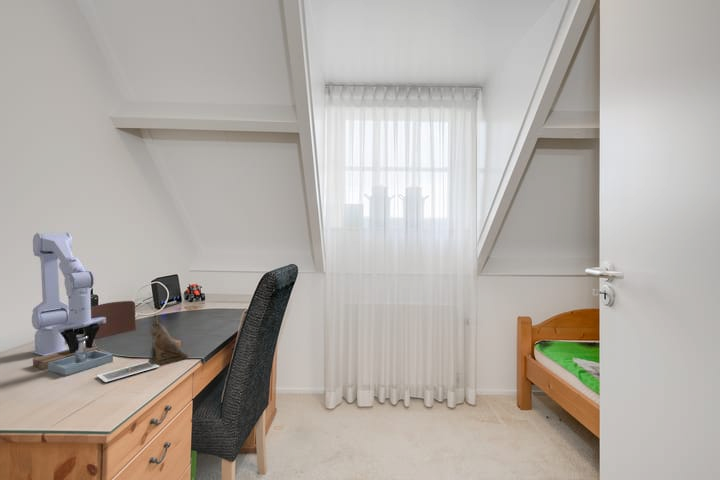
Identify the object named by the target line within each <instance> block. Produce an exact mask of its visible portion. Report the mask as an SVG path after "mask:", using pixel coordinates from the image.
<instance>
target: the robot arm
mask: <svg viewBox="0 0 720 480" xmlns="http://www.w3.org/2000/svg"><path fill="white" fill-rule="evenodd" d="M73 243H74V242H73V236H72V235H71V234H70V233H69V232H64V233H63V232H62V233H61V232H54V233H52V232H51V233H50V232H49V233H48V232H47V233H46V232H45V233H40V232H36V233H35V234H34V235H33V238H32V251H33V256H35V257H38V258H39V261H40V273H41V276H40V277H41V292H42V293H41V294H42V301H41V302H40V303H39V304H37V305H36V306H34V308H33V309H32V315H31V325H32V327H33V329H35V330H36V331H35V333H34V350H32V351H31V353H33V354H35V355H38V356H41V357H42V356H45V355H49V354H53V353H57V352H61V351H65V350H70V352H72V353H74V352H76V336H77V332H74V329H78V328H82V327H84V330H85V334H88V335H89V338H88V339H86V347H87V348H92V346H94V345H93V344H94V341H95V339H94V338H95V336H96V334H97V332H98V330H99V329H100V326H99V325H98V324H101V323H106V317H99V318H92V319H91V307H92V303H91V299H92V298H91V296H92V295H91V289H92V288H93V286H94V283H95V282H94V281H95V280H94V275H93V273H92V271H91V270H89V269H85V267H84V266H83V264H82V262H81V261H80V259H79V258H78V257H75V256H74V254H73V253H72V250H71V249H72V247H73ZM59 270H60V272H61V274H62V275H63V277H64V287H65V291H66V293H65V294H66V296H67V297H68V299H67V301H68V302H67V303H66V302H64V301H62V300H60V299H61V297H60V278H59V277H60V276H59ZM66 344H67V346H66Z"/></svg>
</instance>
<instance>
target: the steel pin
mask: <svg viewBox="0 0 720 480" xmlns="http://www.w3.org/2000/svg"><path fill="white" fill-rule="evenodd" d="M88 338H89V335H88V334H80V335H77V336H76V352H75V363H82V362H85V361H86V339H88Z"/></svg>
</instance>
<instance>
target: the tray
mask: <svg viewBox="0 0 720 480" xmlns="http://www.w3.org/2000/svg"><path fill="white" fill-rule="evenodd" d="M113 362H114V354H113V353H109V352H105V351H101V350H100V351H98V350H93V351H89V352H86V361H85V362H82V363H75V355H74V356H71V357H67V358H64V359H60V360H56V361H53V362H49V363H48V369H47V372H51V373H55V374H56V375H60V376H63V377H69V376H72V375H75V374H79V373H82V372H84V370H85V371H87V370H91V369H93V368H97V367H99V366H104V365H106V364H110V363H113Z"/></svg>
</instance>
